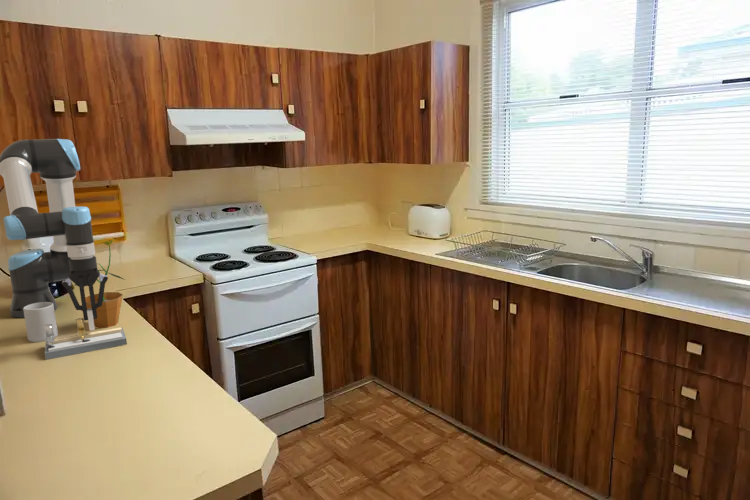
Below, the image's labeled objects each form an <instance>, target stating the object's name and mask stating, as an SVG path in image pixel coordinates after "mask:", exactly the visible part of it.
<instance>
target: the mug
mask: <svg viewBox="0 0 750 500" xmlns="http://www.w3.org/2000/svg"><path fill="white" fill-rule="evenodd" d="M23 311H24V317H25V318H24V322H25V328H26V337H27V341H28V342H30V343H40V342H41V343H42V342H46V332H45V325H47V324H52V327H53V333H54V338H55V339H56V338H58V336H59V332H58V326H57V321H56V320H57V319H56V313H55V311H54V305H53V303H51V302H40V303H34V304H30V305H27V306H25V307H24V308H23Z"/></svg>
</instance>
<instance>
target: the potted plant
mask: <svg viewBox="0 0 750 500" xmlns="http://www.w3.org/2000/svg"><path fill="white" fill-rule="evenodd" d="M117 239H119V238H118V237H116V238H113V239H110V240H106V241H102V242H98V243H97V245H98V244H103V245H106V246H108V251H109V256H108V257H109V259H108V266H107V268H106V269H105V268H104V267H103V266H102V265H101V263H98V265H99V266H100V267H101V268H102V269H98V271H99V272H105V274H104V275H107V276H108V274H109V275H111V276H113V277H116V278H119V279H122V280H126V279H125V278H123V277H121V276H119V275H116V274H114V273H110V272H109V269H110V266H111V257H112V252H111V244H112V243H113V242H114V240H117ZM96 282H98V283H99V284H100V282H101V281H100V280H99V278H98V279H97V280H96ZM74 286H76V287H78V286H77V285H76V284H75V283H74ZM98 295H99V293H94V297H95V303H97V302H98ZM123 297H124V295H123V294H122V293H121V292H117V291H116V292H115V291H110V292H108V291H107V292H106V291H104V295H103V302H102V306H101V307H98V308H97V309H96V311H97V319H93V320H94V327H95V328H96V329H97V328H98V329H103V328H104V329H105V328H111V327H113V326H116V325H117V324H119V318H120V313H121V307H122V302H123ZM85 299H86V306H87V309H90V308H92V307H91V300H90V295H88V296H85Z"/></svg>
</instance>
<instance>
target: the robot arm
mask: <svg viewBox="0 0 750 500" xmlns="http://www.w3.org/2000/svg"><path fill="white" fill-rule="evenodd" d="M79 171H81V164H80V159H79V156H78V153H77V149H76V147H75V145H74V143H73V141H72V140H70V139H65V138H48V139H47V138H45V139H44V138H42V139H41V138H40V139H38V138H37V139H20V140H16V141H14V142H12V143H10V144H9V145H8V146H6V147H5V148H4V149H3V150H2V152H1V153H0V176H1V177H2V178H3V185H4V189H5V193H6V200H7V204H8V205H7V206H8V210H9V215H6V216H4V217H3V224H4V228H5V229H4V230H5V235H6V238H7V240H9V241H18V240H22V241H23V240H31V239H32V240H33V239H38V238H39V239H40V238H41V239H42V238H50V237H52V238H53V243H52V244H51V245H50V246H49V250H50V251H44V249H42V248H32V249H27V250H23V251H20V252H17V253H14V254H12V255H10V256H9V257H8V259H7V266H8V269H7V271H8V272H9V277H10V283H11V290H12V297H11V298H12V299H11V303H10V307H9V312H10V316H11V318H18V319H19V318H21V319H23V318H24V319H25V317H24V311H23V308H24V307H25V306H27V305H30V304H34V303H40V302H51V303H53V305H54V312H55V311H56V310H57V309H58V304H57V301H56V298H55V297H54V296H53V294H52V291H51V290H50V287H49V283H54V282H61V281H62V282H61V285H62V286H63V287H64V288H65V289H66V290H67V292H68V295H69V297H70V299H71V302H72V303H73V306H74V308H75V310H76V311H82V315H83V316H82V318H84V322H85V321H87V322H88V328H89V331H90V332H93V331H95V330H96V329H95V328H96V327H95V326H94V320H93V319H97V311H96V309H97V308H98V307H101V306H102V302H103V295H104V293H105V286H106V283H107V281H108V279H109V277H108V274H107V275H105V274H102V273H101V271H98V270H99V269H98V262H97V257H96V256H95V255H96V248H95V242H94V241H95V240H94V234H93V227H92V225H93V224H92V216H91V212H90V208H89V207H88V206H84V205H83V206H82V205H81V206H77V205H76V200H75V199H76V198H75V191H74V184H73V181H74V179H75V178H76V177H77V172H79ZM32 173H34V174H37V173H39V178H41V180H43V181H45V186H46V195H47V202H48V208H49V212H39V211H38V206H37V201H36V197H35V193H34V189H33V188H34V187H33V183H32V179H31V175H32ZM97 279H98V280H99V281H100V283H99V290H98V294H99V295H98V302H97V303H95V297H94V294H95V291H94V285H95V283H96V282H97ZM72 283H73V284H74V285H75V284H76V285H77V286H76V285H75V286H76V287H79V294H80V301H81V302H80V303H81V304H80V303H79V301H78V299H77V295H76V294H75V292H74V289H73V288H72ZM85 287H88V291H89V296H90V300H91V307H92V308H90V309H87V306H86V299H85V297H86V293H85Z"/></svg>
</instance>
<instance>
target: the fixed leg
mask: <svg viewBox="0 0 750 500" xmlns="http://www.w3.org/2000/svg"><path fill="white" fill-rule="evenodd" d="M45 332H46V341H45V343H46V342H47V343H48V344H49V347H51V346H52V342H54V339H56V337H55V338H54V333H53V327H52V324H47V325H45Z"/></svg>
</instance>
